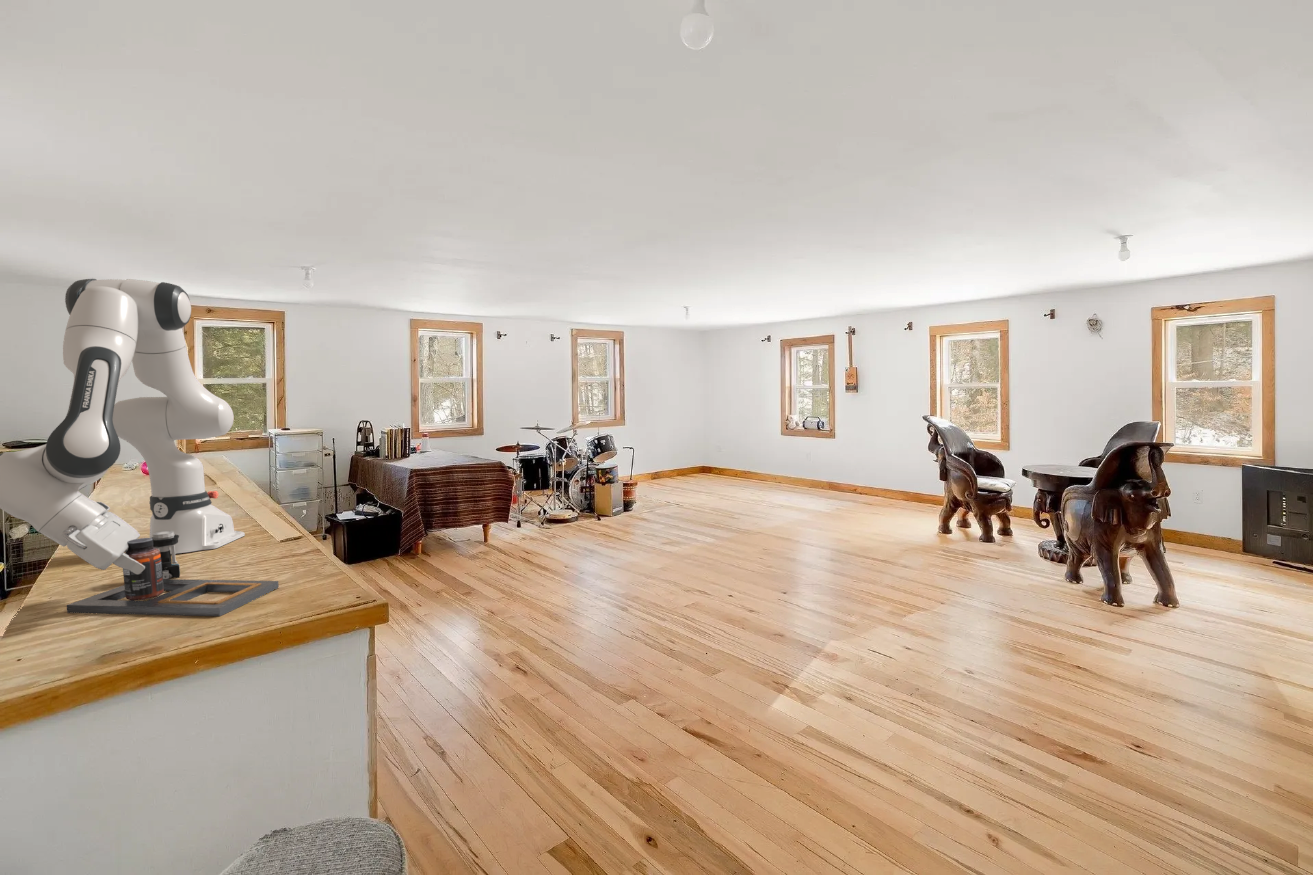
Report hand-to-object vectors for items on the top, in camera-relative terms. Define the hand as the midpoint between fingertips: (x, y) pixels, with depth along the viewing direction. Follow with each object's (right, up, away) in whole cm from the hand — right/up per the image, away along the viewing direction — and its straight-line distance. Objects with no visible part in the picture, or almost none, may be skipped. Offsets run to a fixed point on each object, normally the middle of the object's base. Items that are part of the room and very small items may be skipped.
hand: (146, 565), depth 126 cm
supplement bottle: (-1, -6, 0) cm, 6 cm away
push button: (-7, -6, +14) cm, 17 cm away
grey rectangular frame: (+7, -6, 0) cm, 9 cm away
